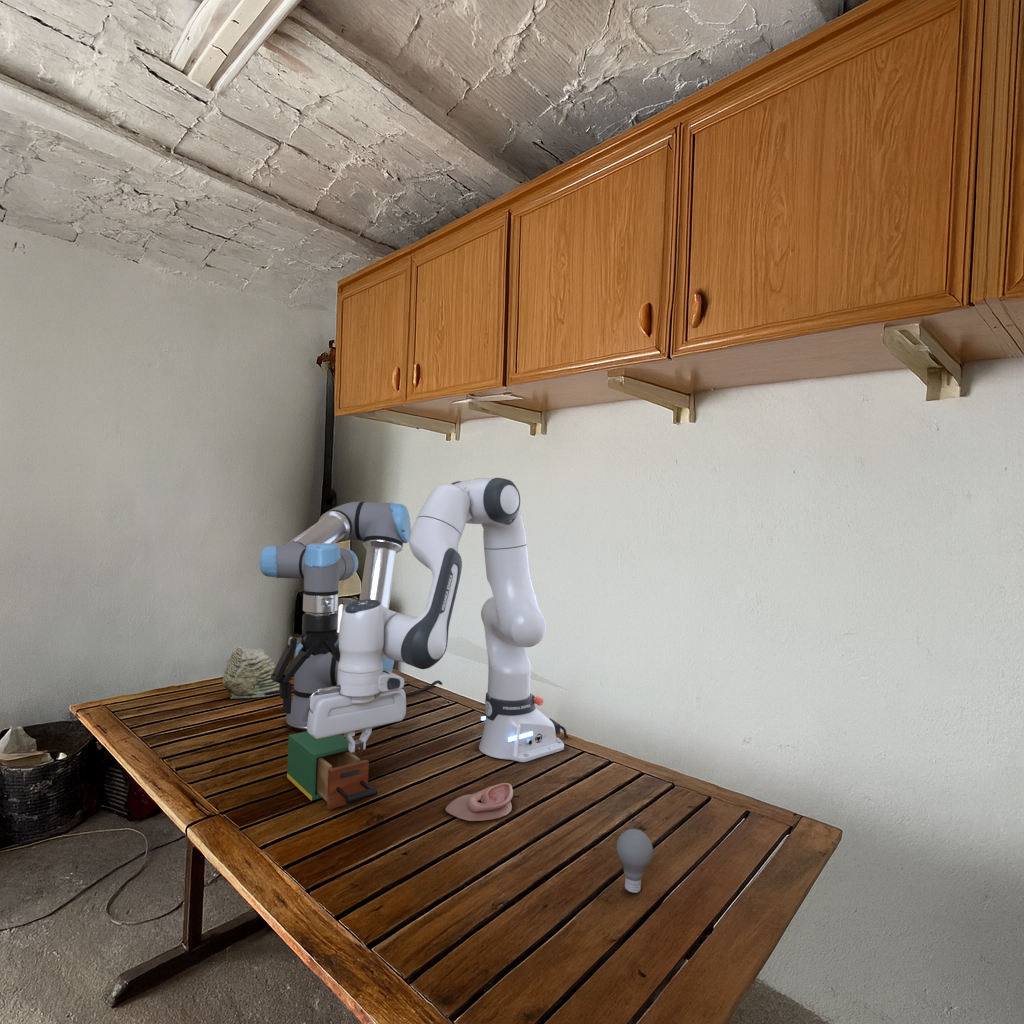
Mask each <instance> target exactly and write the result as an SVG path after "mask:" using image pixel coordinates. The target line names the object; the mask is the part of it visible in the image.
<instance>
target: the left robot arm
mask: <svg viewBox="0 0 1024 1024" xmlns="http://www.w3.org/2000/svg"><path fill="white" fill-rule="evenodd" d="M411 526H412V525H411V517H410V513H409V510H408V508H407V506H406V505H405V504H402V503H394V502H375V501H351V502H347V503H343V504H341V505H338V506H335V507H333V508H331V509H329V510H327V511H326V512H324V513H322V515H321V516H320V517H319V519H318V521H317V522H316V523H315V524H313V525H311V526H310V527H309V528H307V529H306V530H304V531H302V532H301V533H300V534H298V535H297V536H295V537H294V538H293V539H291V540H289V541H288V542H286V543H285V544H283V545H281V546H280V545H267V546H265V547H264V548H263V549H262V551H261V553H260V555H259V568H260V573H261V574H262V575H263V576H265V577H268V578H276V579H294V580H295V579H297V580H303V597H302V598H303V599H302V611H303V612H304V613H303V614H302V622H301V636H293V635H289V636H288V637H287V638H286V645H285V648H284V650H283V651H282V654H281V655H280V657H279V660H278V661H277V663H276V664H275V665H276V667H275V669H274V671H273V673H272V675H271V679H272V680H273V681H275V682H278V683H279V684H280V686H279V694H278V695H279V698H281V699H282V712H284V713H285V714H286V715H285V726H286V728H287V729H289V730H291V731H294V732H295V731H296V732H300V733H301V732H305V731H307V721H308V715H309V698H310V696H311V695H312V694H313V693H314V692H316V690H317V689H320V688H328V687H332V686H337V671H338V663H339V660H340V650H339V632H337V630H338V616H339V615H338V613H337V612H338V610H339V607H338V606H339V590H340V589H339V585H340V582H341V581H345V580H348V579H350V578H351V577H352V576H353V575H354V574H356V572H357V570H358V568H359V559H358V556H357V555H356V553H355V551H353V550H351V549H350V548H345V547H344V548H343V547H340V546H339V543H342V542H344V541H362V546H363V547H364V549H365V550H366V554H365V562H364V567H363V574H362V580H361V587H360V594H359V600H366V599H373V600H377V601H379V602H381V604H382V605H383V606H384V607H385V608H387V609H389V610H390V603H391V597H392V590H393V589H392V588H393V581H394V574H395V567H396V560H397V555H398V554H399V553H400V552H401V551H403V547H404V544H409V537H410V532H411V530H412V527H411ZM294 653H295V654H294ZM293 656H294V658H293ZM292 658H293V659H292ZM291 660H292V661H291ZM382 663H383V670H385V671H389V672H392V673H393V670H394V664H395V660H392V659H389V658H384V659H383V660H382ZM292 679H293V683H291V682H290V681H291V680H292ZM437 684H439V685H440V686H442V685H443V681H441V680H435V681H433V682H432V683H430V684H428V685H426V686H423V687H422V688H419V689H416V690H412V691H409V692H405V695H406V697H410V696H413V695H417V694H419V693H422V692H424V691H426V690H428V689H431V688H433V687H434V686H435V685H437ZM429 685H431V686H429ZM292 690H293V691H292ZM292 692H293V695H292ZM316 694H317V693H316ZM316 694H315V695H316ZM292 696H293V697H292Z"/></svg>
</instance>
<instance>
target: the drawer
mask: <svg viewBox="0 0 1024 1024" xmlns="http://www.w3.org/2000/svg"><path fill="white" fill-rule="evenodd" d="M369 766H370V761H369V760H368V759H363V760H361V758H360V757H358V756H357V755H356V754H355V755H354V754H353V753H351V752H350V751H344V752H339V753H335V754H331V755H327V756H323V757H319V758H317V763H316V789H315V791H316V792H317V793H318V794H319V795H320V796H321V797H322V798H321V799H323V800H324V801H325V802H326V808H327V809H328V810H333V809H336V808H339V807H342V806H346V805H350V804H353V803H357V802H359V801H363V800H367V799H369V798H373V797H376V796H377V795H378V794H379V793H378V788H377V787H376V786H374V787H372V786H370V785H369V769H370V767H369Z"/></svg>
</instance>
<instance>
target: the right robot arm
mask: <svg viewBox="0 0 1024 1024" xmlns="http://www.w3.org/2000/svg"><path fill="white" fill-rule="evenodd" d="M520 508H521V495H520V491H519V489H518V487H517V486H516V484H515V482H513V481H512V480H511V479H507V478H504V477H494V478H490V477H478V478H477V477H476V478H473V479H467V480H463V481H462V480H457V481H454V482H451V483H441V484H438V485H437V486H435V487H434V489H433V490H432V491H431V493H430V494H429V495H428V497H427V498H426V500H425V502H424V503H423V505H422V507H421V508H420V510H419V512H418V514H417V516H416V518H415V521H414V523H413V524H412V527H411V532H410V537H409V542H408V545H409V549H410V551H411V553H412V555H413V557H414V558H415V559H416V560H417V561H418V562H420V563H421V564H422V565H423V566H425V567H426V568H427V569H429V570H430V571H431V574H432V583H431V586H430V590H429V593H428V597H427V601H426V605H425V609H424V611H423V613H422V614H421V615H419V616H415V615H410V614H405V613H403V612H402V613H401V612H397V611H394V610H391V609H390V608H389V609H387V608H385V607H384V606H383V605H382V604H381V602H379V601H377V600H373V599H366V600H360V599H358V600H354V601H352V602H350V603H347V605H346V606H345V607H344V608H343V610H342V613H341V614H342V615H341V617H340V621H339V629H338V630H339V631H338V633H339V638H338V639H339V650H340V660H339V663H338V671H337V686H332V687H328V688H320V689H317V690H316V692H314V693H313V694H312V695H311V696H310V698H309V715H308V721H307V732H308V733H309V734H310V735H311V736H312V737H314V738H315V739H320V738H325V737H329V736H334V735H339V734H340V735H342V734H343V737H345V738H346V739H347V741H348V742H349V748H348V749H349V751H350V752H351V753H353V752H355V753H357V752H361V751H365V750H366V748H367V741H368V739H369V738H370V736H371V735H372V730H373V728H375V727H379V726H384V725H389V724H393V723H397V722H402V721H403V720H404V718H405V717H406V714H407V696H406V695H405V693H406V692H405V689H403V688H404V686H405V679H404V678H403V677H402V676H400V675H398V674H397V673H394V672H393V671H392V672H389V671H385V670H383V663H382V660H383V659H384V658H389V659H392V660H394V661H396V662H401V663H404V664H407V665H408V666H412V667H413V668H416V669H419V670H428V669H430V668H432V667H433V666H435V665H436V664H437V663H438V662H440V661H441V659H442V658H443V657H444V656H445V653H446V651H447V649H448V641H449V630H450V623H451V619H452V614H453V610H454V606H455V601H456V598H457V593H458V588H459V584H460V580H461V575H462V571H463V570H462V568H463V559H462V556H461V555H460V553H459V545H460V541H461V538H462V536H463V533H464V531H465V527H466V524H471V525H481V527H482V529H483V531H482V532H483V534H482V535H483V536H482V539H483V555H484V562H485V563H484V564H485V573H486V581H487V582H488V584H489V587H490V589H491V592H492V595H493V596H490V598H488V599H486V600H485V602H484V603H483V605H482V606H481V610H480V618H481V620H482V621H481V622H482V624H483V628H484V629H483V630H484V636H485V645H486V652H487V662H488V663H487V664H488V666H487V667H488V668H487V669H488V671H487V692H486V693H485V702H484V704H485V705H484V716H480V720H481V721H484V725H483V726H484V727H483V731H482V734H481V738H480V741H479V744H478V749H479V751H480V752H481V753H482V754H484V755H486V756H489V757H491V758H493V759H494V758H495V759H500V760H509V761H510V760H511V761H515V762H519V763H527V762H530V761H533V760H536V759H539V758H543V757H546V756H549V755H552V754H556V753H559V752H562V751H564V750H565V743H564V742H563V740H562V739H561V738H560V737H558V736H557V735H560V734H561V730H562V732H563V736H564V738H565V739H568V738H569V735H568V734H567V730H566V727H564V726H562V725H561V724H560V723H558V722H557V721H555V719H552V718H551V717H550V718H549V717H547V715H545V714H544V713H542V711H541V710H539V709H538V708H537V707H536V705H537V706H539V707H540V706H542V705H543V704H544V699H543V698H542V697H541V696H538V695H536V696H535V695H534V694H533V693H531V683H532V682H531V679H532V663H531V661H530V658H529V654H528V650H527V648H533V647H534V646H536V645H538V644H539V643H541V642H542V641H543V639H544V637H545V635H546V631H547V622H546V618H545V617H544V615H543V613H542V612H541V611H542V610H541V609H540V607H539V603H538V599H537V596H536V592H535V589H534V585H533V582H532V578H531V573H530V572H531V571H530V565H529V554H528V553H529V551H528V541H527V534H526V529H525V524H524V520H523V515H522V513H521V510H520ZM316 693H317V694H316ZM315 694H316V695H315ZM356 731H361V734H360V736H359V738H358V739H355V740H354V738H353V737H355V735H356Z"/></svg>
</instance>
